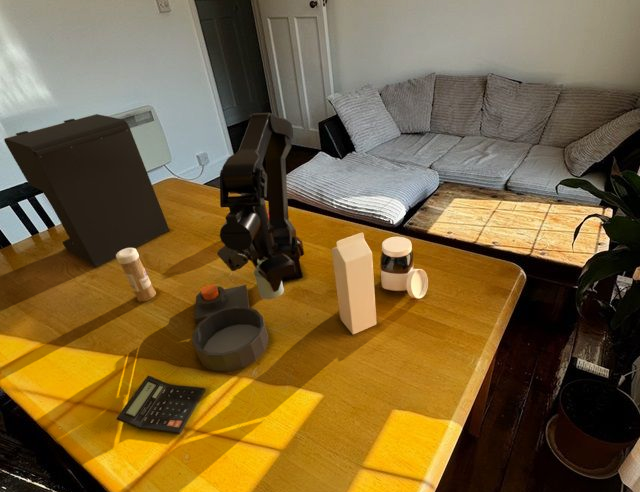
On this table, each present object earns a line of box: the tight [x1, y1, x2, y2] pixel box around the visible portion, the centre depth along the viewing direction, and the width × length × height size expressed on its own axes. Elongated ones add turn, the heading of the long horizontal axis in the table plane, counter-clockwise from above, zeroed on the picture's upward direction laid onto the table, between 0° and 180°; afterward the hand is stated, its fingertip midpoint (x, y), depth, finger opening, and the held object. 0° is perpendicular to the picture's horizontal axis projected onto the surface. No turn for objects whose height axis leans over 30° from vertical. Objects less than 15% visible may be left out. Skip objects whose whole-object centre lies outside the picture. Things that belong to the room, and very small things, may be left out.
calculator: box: [115, 374, 206, 435], centre depth 75 cm, size 9×12×3 cm
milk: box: [331, 232, 377, 336], centre depth 85 cm, size 6×6×22 cm
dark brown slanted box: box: [3, 113, 171, 269], centre depth 121 cm, size 28×20×35 cm
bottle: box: [253, 260, 285, 300], centre depth 90 cm, size 5×5×9 cm
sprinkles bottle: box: [115, 248, 157, 302], centre depth 101 cm, size 5×5×14 cm
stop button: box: [200, 284, 219, 300], centre depth 96 cm, size 4×4×2 cm
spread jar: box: [379, 236, 429, 299], centre depth 97 cm, size 12×11×12 cm
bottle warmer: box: [191, 306, 269, 373], centre depth 86 cm, size 14×14×5 cm
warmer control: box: [194, 284, 251, 326], centre depth 97 cm, size 12×9×4 cm
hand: (270, 284), depth 92 cm, fingers closed on bottle, 5 cm apart
